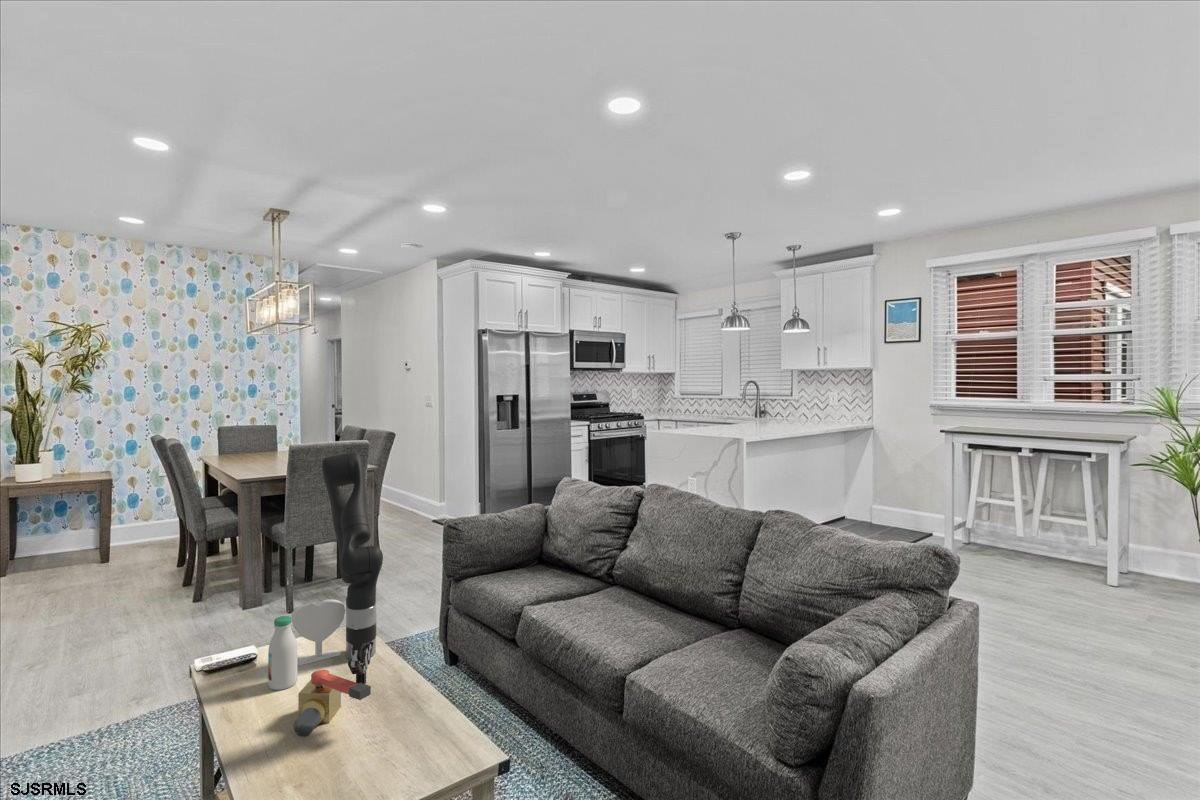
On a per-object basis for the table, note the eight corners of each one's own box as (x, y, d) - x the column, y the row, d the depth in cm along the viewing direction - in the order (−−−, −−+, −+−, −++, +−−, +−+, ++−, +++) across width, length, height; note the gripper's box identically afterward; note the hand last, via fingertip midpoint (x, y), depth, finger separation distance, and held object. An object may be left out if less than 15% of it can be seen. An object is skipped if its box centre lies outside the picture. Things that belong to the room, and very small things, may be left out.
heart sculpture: (341, 648, 206) (341, 596, 206) (345, 653, 202) (345, 600, 202) (291, 660, 197) (291, 605, 196) (294, 666, 193) (294, 610, 192)
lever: (307, 682, 164) (307, 674, 164) (321, 675, 168) (321, 667, 168) (358, 701, 155) (358, 692, 155) (372, 693, 159) (372, 685, 159)
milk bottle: (302, 678, 185) (302, 614, 184) (287, 691, 177) (287, 624, 177) (278, 677, 186) (278, 612, 185) (262, 690, 178) (262, 622, 177)
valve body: (320, 696, 175) (320, 665, 175) (348, 695, 175) (348, 665, 175) (287, 736, 155) (287, 701, 155) (319, 735, 155) (319, 701, 155)
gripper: (356, 611, 168) (355, 673, 168) (337, 632, 154) (337, 698, 155) (383, 611, 168) (383, 673, 169) (367, 632, 155) (366, 698, 156)
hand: (361, 685), depth 162 cm, fingers closed
